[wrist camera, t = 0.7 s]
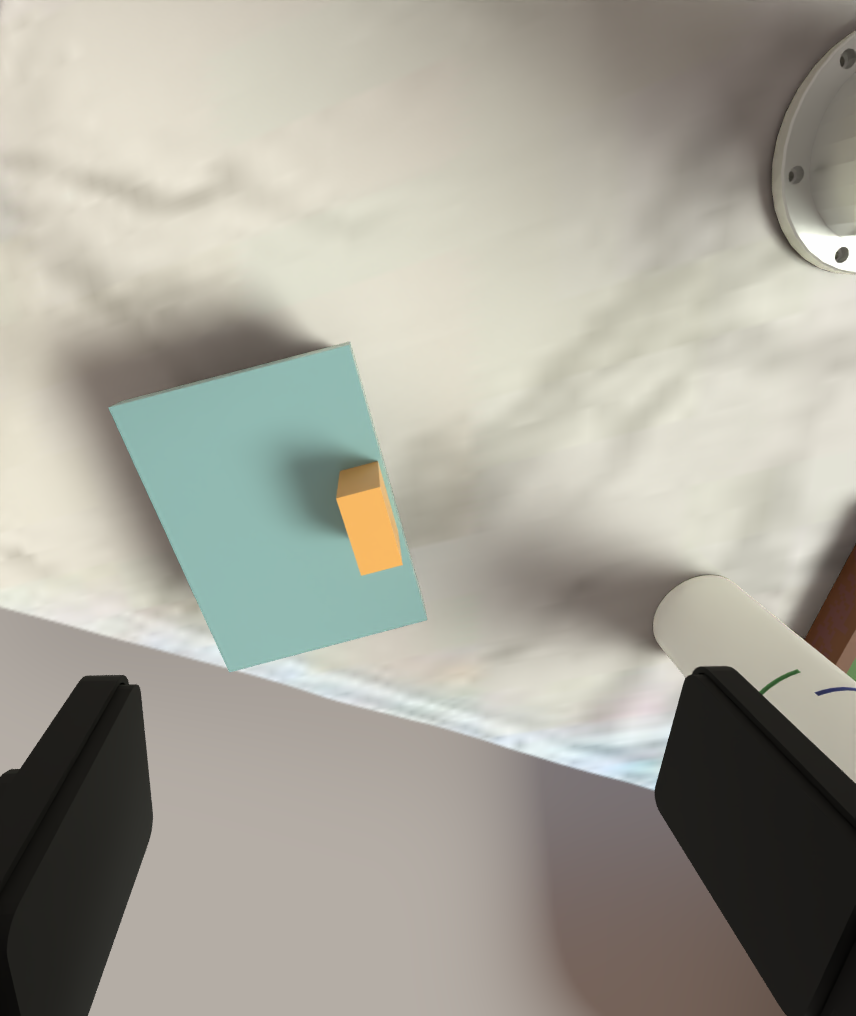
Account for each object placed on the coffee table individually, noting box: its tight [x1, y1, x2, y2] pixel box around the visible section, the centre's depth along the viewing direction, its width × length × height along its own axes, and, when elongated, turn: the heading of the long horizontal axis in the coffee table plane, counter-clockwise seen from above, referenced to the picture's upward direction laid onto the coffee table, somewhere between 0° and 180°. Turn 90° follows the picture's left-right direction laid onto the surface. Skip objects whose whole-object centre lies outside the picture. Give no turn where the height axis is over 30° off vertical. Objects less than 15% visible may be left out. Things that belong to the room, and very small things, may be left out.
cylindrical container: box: [653, 575, 856, 783], centre depth 32 cm, size 7×7×25 cm
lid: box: [109, 342, 427, 672], centre depth 29 cm, size 12×16×6 cm
